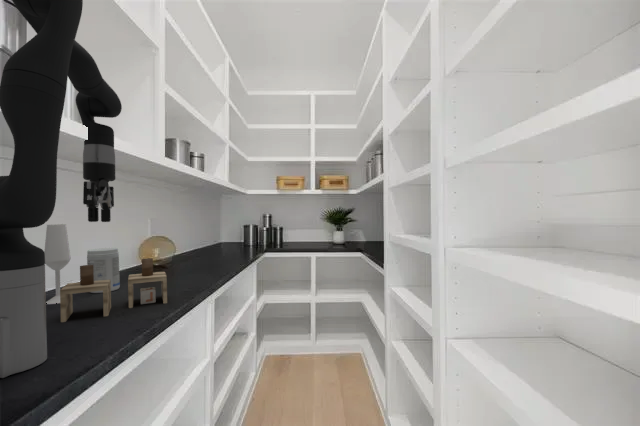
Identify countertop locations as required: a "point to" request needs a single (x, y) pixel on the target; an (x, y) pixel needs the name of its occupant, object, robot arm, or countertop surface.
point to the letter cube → (148, 295)
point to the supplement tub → (105, 266)
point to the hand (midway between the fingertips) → (99, 221)
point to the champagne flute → (56, 254)
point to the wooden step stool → (84, 286)
